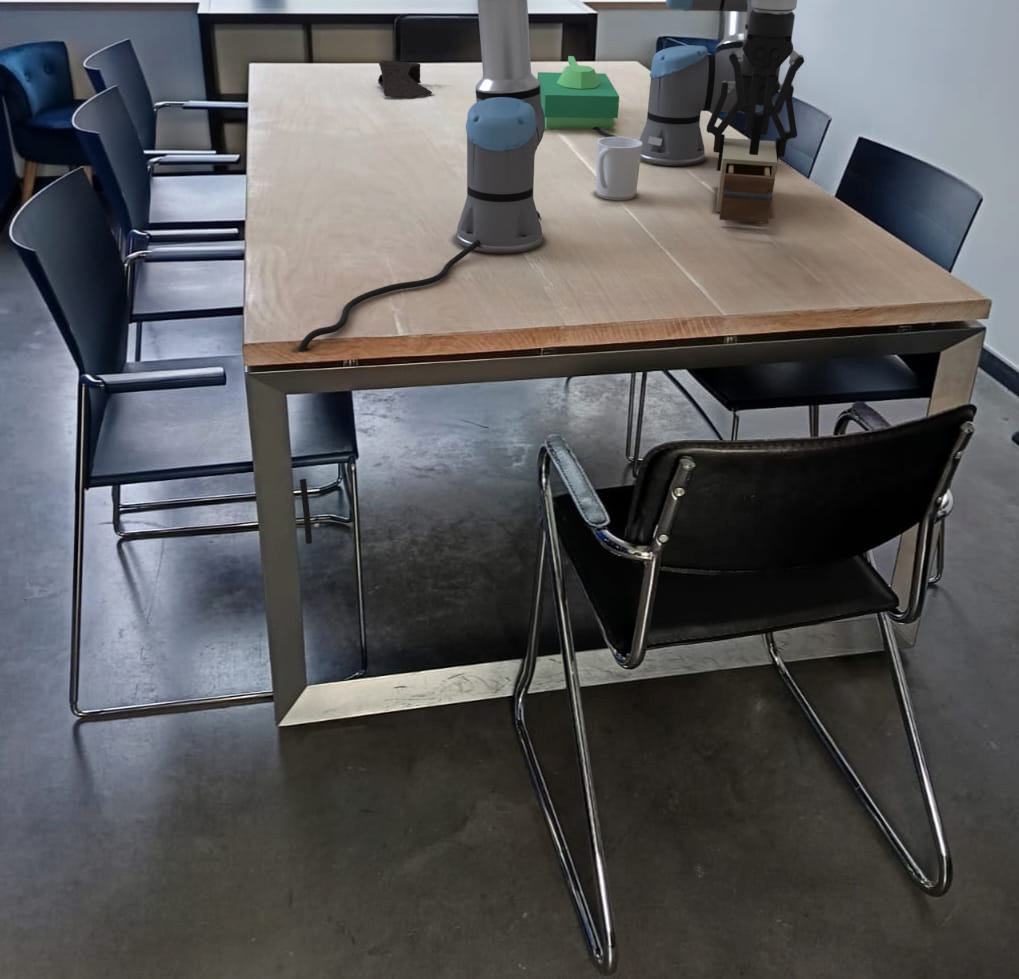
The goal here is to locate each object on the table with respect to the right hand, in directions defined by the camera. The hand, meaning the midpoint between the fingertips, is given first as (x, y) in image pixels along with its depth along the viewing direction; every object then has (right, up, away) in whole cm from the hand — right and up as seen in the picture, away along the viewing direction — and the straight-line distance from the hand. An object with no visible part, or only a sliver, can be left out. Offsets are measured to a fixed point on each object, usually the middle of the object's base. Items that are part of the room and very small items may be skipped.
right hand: (746, 170), depth 220 cm
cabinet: (-1, -6, -1) cm, 6 cm away
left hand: (-4, -4, -24) cm, 24 cm away
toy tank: (-31, +31, +60) cm, 74 cm away
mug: (-27, -5, +1) cm, 27 cm away
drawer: (-3, -11, -11) cm, 16 cm away
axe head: (-77, +45, +81) cm, 120 cm away
